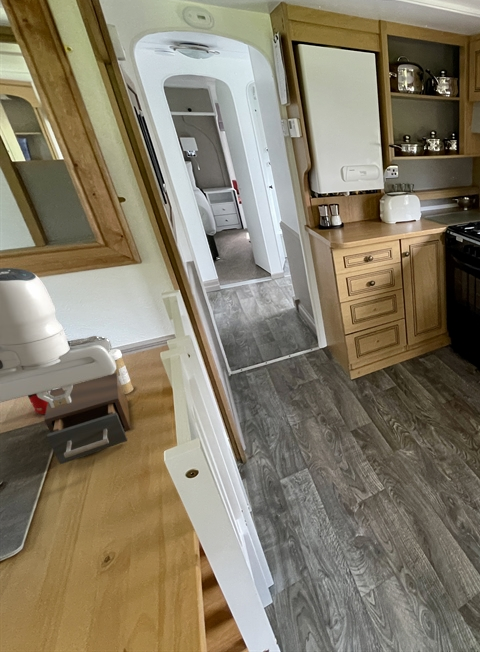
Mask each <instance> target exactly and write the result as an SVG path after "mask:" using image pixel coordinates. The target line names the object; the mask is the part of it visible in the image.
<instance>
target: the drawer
mask: <svg viewBox="0 0 480 652" xmlns="http://www.w3.org/2000/svg"><path fill="white" fill-rule="evenodd" d="M53 430H54V432H52V433H50V432H49V433H47V434H46V439H47V441H48V442H49V445H50V447H51V449H52V451H53V453H54V454H55V457H56V460H57V461H58V463H59V465H62V464H65V463H69V462H71V461H74V460H77V459H79V458H82V457H85V456H89V455H91V454H94V453H97V452H99V451H102V450H106V449H107V448H110V447H111V448H112V447H114V446H117V445H119V444H122V443H125V442H128V437H127V435H126V431H124V429H123V427H122V424H121V417H120V415H119V412H118V410H117V407H116V405H115V402H114V403H111V404H107V405H104V406H101V407H97V408H94V409H91V410H87V411H84V412H81V413H77V414H74V415H70V416H67V417H64V418H60V419H57V420H55V424H54V429H53Z"/></svg>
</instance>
